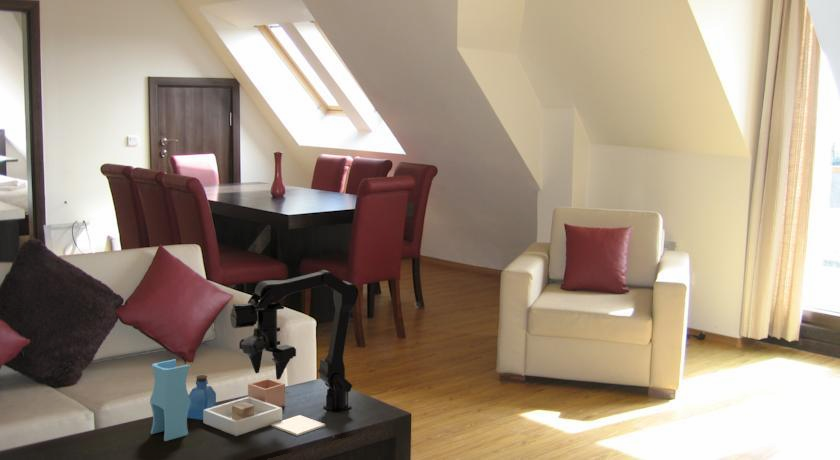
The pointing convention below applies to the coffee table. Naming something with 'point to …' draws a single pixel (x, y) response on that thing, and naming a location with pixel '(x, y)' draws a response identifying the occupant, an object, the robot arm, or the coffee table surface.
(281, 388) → the terracotta pot
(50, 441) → the coffee table surface
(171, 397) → the vase
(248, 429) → the white bin
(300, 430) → the cream coaster
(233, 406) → the walnut block
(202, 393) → the perfume bottle
